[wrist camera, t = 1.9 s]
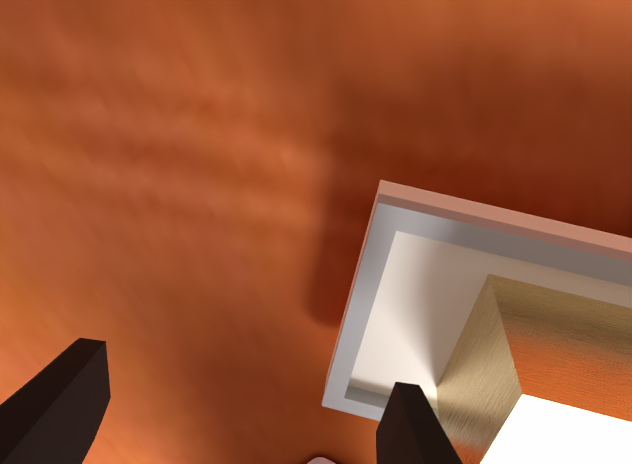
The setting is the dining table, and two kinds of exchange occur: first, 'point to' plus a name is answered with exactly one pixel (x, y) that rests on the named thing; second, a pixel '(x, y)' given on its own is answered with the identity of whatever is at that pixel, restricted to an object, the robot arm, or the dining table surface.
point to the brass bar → (539, 379)
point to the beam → (450, 285)
